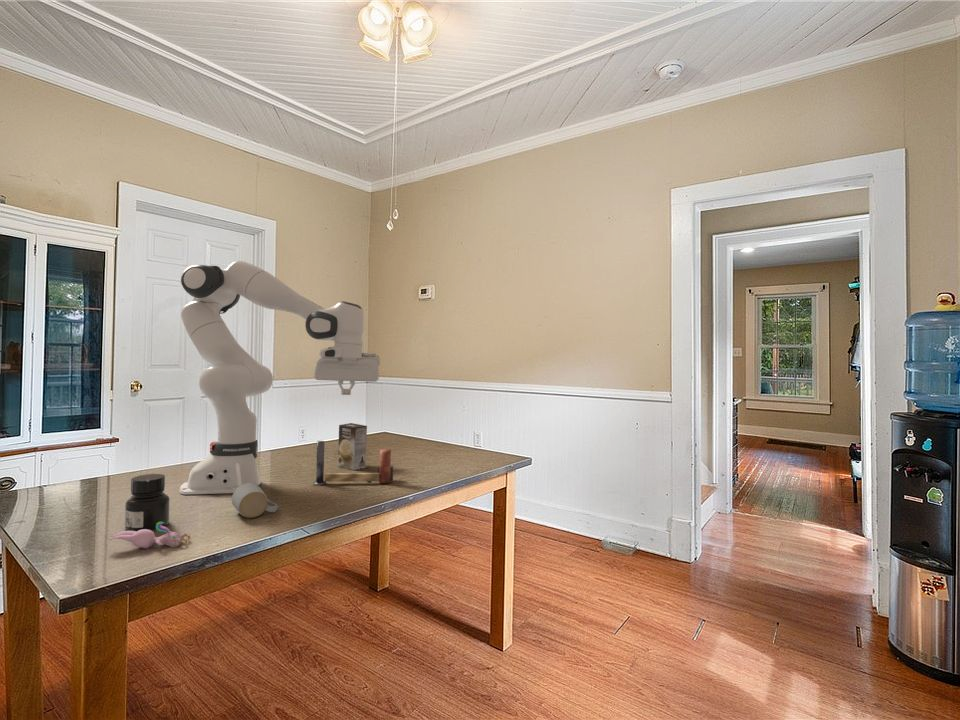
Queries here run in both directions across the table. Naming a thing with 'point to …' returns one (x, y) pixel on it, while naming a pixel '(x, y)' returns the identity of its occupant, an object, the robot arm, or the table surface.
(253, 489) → the ceramic mug
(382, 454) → the gate
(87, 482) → the table surface
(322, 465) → the hinge post
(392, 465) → the catch block
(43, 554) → the table surface
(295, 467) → the table surface
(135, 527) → the ink bottle
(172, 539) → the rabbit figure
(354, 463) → the coffee box
